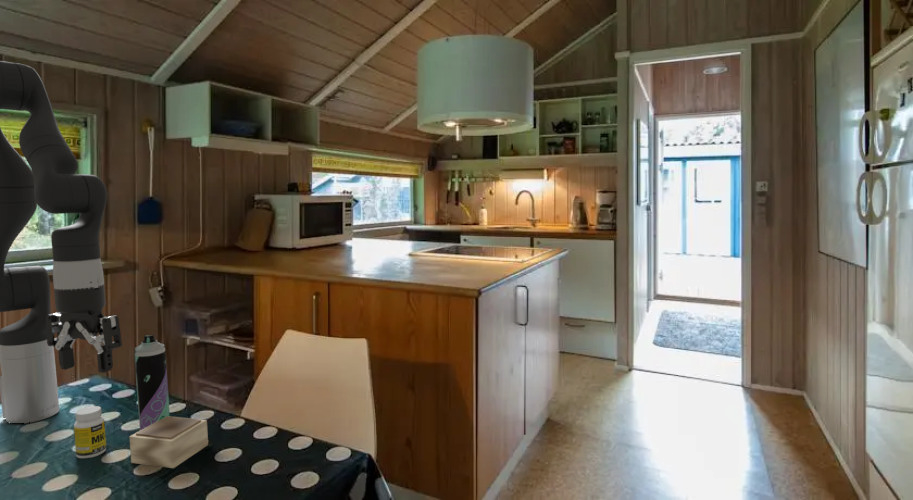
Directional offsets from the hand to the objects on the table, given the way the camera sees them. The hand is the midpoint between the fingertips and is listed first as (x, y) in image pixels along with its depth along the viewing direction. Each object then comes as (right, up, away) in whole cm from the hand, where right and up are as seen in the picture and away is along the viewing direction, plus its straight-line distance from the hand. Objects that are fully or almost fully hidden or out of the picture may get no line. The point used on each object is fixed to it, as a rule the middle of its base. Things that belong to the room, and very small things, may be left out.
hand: (86, 369), depth 98 cm
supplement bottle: (0, -16, +1) cm, 16 cm away
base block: (+15, -16, +1) cm, 22 cm away
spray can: (+6, -15, +11) cm, 20 cm away
